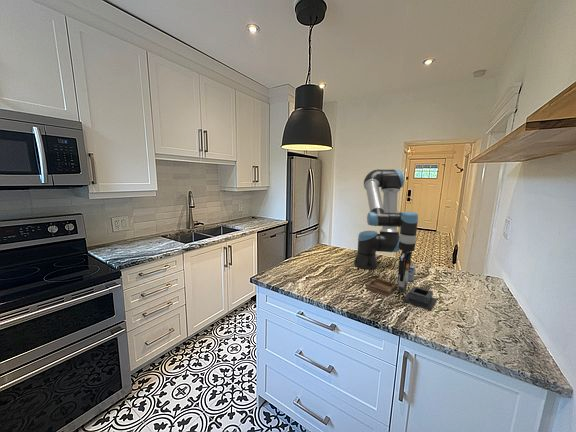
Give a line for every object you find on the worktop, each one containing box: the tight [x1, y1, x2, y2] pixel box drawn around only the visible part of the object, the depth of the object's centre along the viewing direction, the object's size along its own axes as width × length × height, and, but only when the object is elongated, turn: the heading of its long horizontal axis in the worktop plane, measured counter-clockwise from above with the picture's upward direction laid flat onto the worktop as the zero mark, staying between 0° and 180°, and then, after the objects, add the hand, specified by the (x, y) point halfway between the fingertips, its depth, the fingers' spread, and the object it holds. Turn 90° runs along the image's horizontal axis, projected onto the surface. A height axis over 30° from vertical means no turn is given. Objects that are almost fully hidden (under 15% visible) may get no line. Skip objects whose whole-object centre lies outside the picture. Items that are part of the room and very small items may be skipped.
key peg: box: [397, 263, 409, 293], centre depth 128 cm, size 4×4×15 cm
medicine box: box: [397, 264, 416, 283], centre depth 143 cm, size 8×4×9 cm, turn 62°
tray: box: [365, 277, 398, 297], centre depth 131 cm, size 12×12×3 cm
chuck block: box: [402, 285, 438, 312], centre depth 118 cm, size 12×12×5 cm
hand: (402, 284), depth 129 cm, fingers closed on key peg, 4 cm apart
